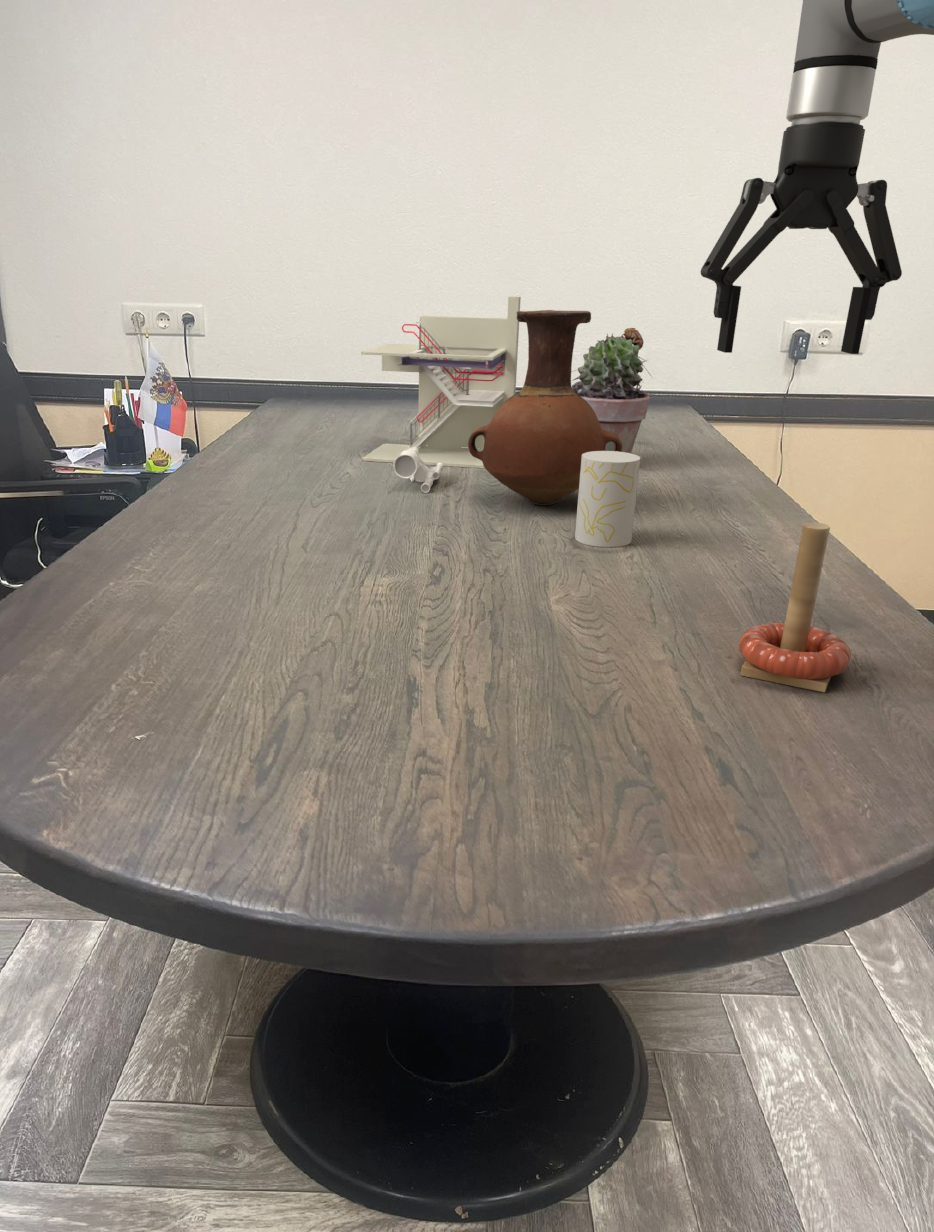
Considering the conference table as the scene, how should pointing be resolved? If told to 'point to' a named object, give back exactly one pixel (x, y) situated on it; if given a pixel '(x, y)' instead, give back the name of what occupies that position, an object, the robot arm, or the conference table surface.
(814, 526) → the post
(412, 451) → the white pipe fitting
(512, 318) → the staircase
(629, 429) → the potted plant
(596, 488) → the white patterned cylinder
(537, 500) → the vase
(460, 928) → the conference table surface
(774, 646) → the ring
